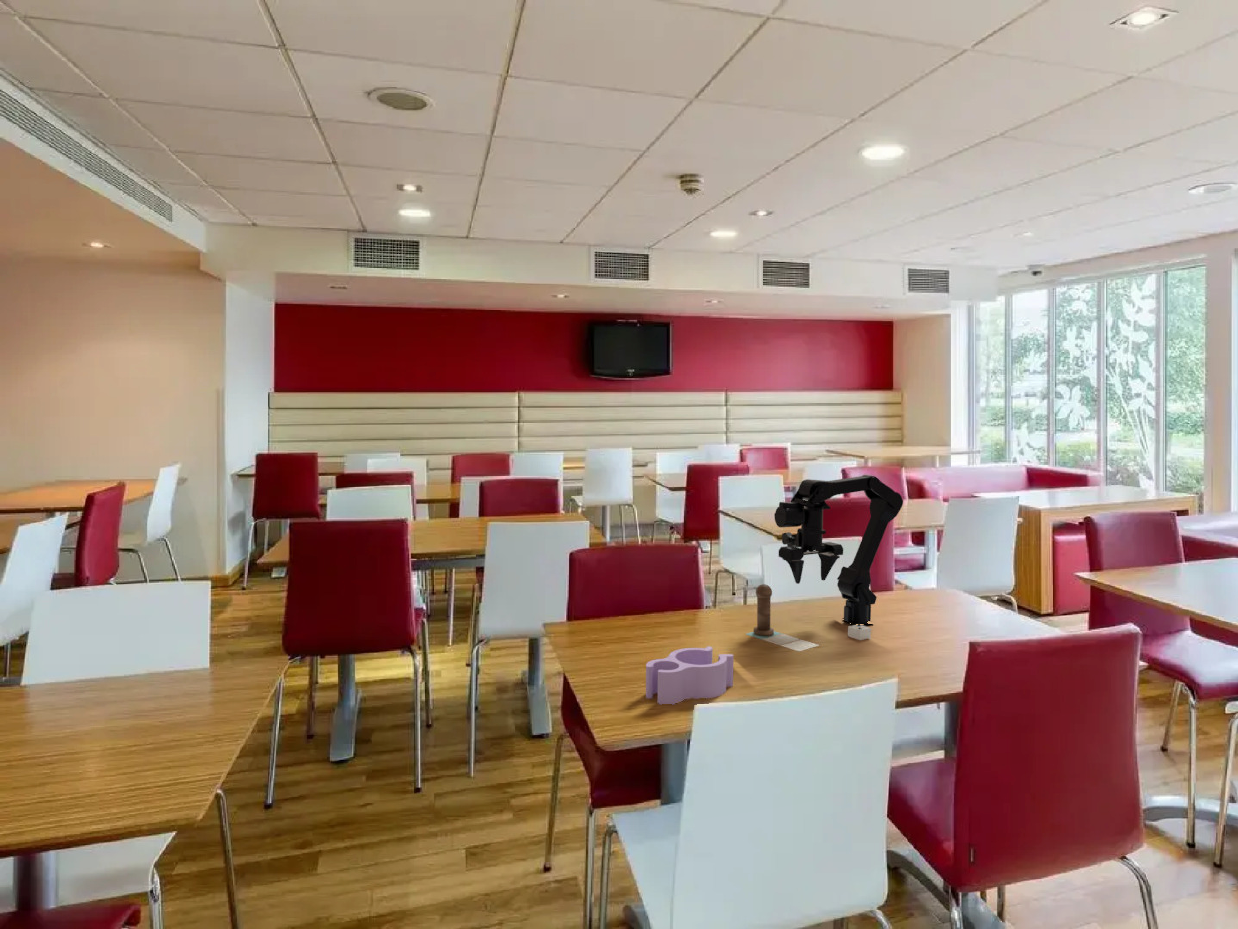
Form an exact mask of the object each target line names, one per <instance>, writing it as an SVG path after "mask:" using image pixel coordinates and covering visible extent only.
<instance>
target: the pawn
mask: <svg viewBox="0 0 1238 929" xmlns="http://www.w3.org/2000/svg"><path fill="white" fill-rule="evenodd" d="M772 590H773V589H772V588H771V586H769V585H768V584H764V583H763V584H760V585H758V586H757V587H756V589H755V595H756V598H757V599H756V600H757V601H756V603H757V604H756V605H757V606H756V610H757V614H756V618H757V619H756V621H757V622H756V623H757V624H756V626H755V627H753V632H754V634H755V635H758V636H772V635H774V631H775V629H774V628H773V627H771V597H772V595H773V591H772ZM772 637H773V636H772Z"/></svg>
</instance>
